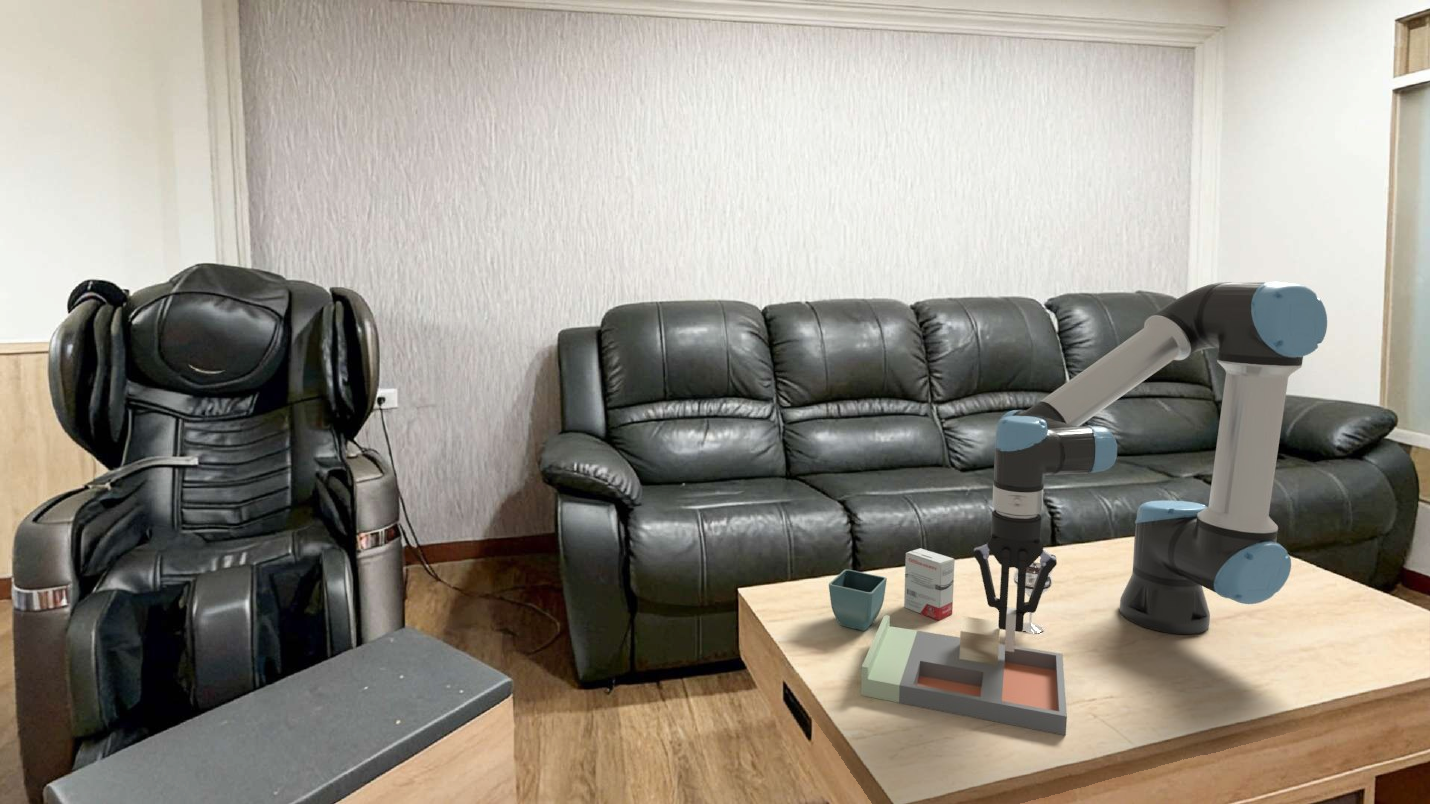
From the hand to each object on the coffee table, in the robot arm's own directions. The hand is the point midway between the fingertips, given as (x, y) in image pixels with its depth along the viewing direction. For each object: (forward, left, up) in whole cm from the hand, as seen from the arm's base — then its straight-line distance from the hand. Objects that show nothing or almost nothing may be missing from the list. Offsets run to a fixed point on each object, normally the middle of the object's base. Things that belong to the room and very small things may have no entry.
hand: (1009, 647), depth 127 cm
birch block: (+5, 0, -2) cm, 5 cm away
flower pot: (+28, -10, -5) cm, 30 cm away
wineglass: (-3, -20, -5) cm, 21 cm away
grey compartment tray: (+7, +5, -5) cm, 10 cm away
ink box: (+16, -21, -5) cm, 27 cm away
